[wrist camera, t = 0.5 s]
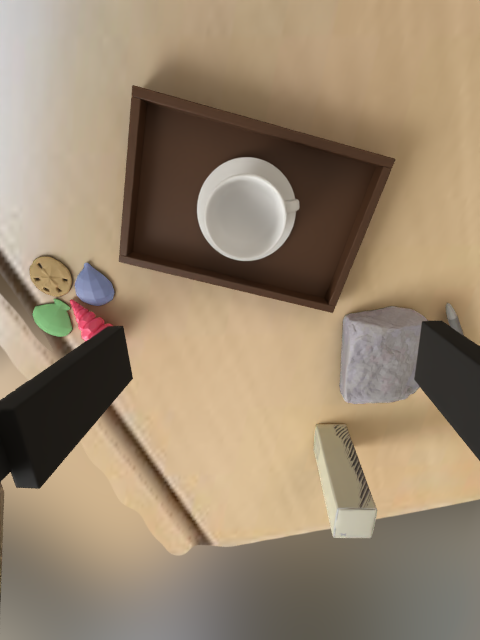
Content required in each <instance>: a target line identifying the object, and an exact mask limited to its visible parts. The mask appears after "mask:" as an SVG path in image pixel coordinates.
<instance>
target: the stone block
mask: <svg viewBox="0 0 480 640" xmlns="http://www.w3.org/2000/svg"><path fill="white" fill-rule="evenodd" d="M422 321H428V320H427V319H426V318H425V317H424V316H423V315H421V314H420V313H418V312H416V311H414V310H413V309H409V308H399V307H394V306H390V307H386V308H382V309H377V310H372V311H363V312H358V313H350V314H347V315H345V317H344V319H343V334H342V351H341V372H340V392H341V394H342V396H343V398H344V400H345V401H346V402H348V403H353V404H358V403H360V404H364V403H388V402H394V401H399V400H402V399H406V398H408V396H409V395H410V394H413V393H415V392H416V390H417V389H418V388H419V387H420V386H419V385H418V384H417V382H416V381H415V380H414V377H415V370H416V362H417V355H418V347H419V340H420V332H421V325H422Z"/></svg>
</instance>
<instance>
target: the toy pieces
mask: <svg viewBox="0 0 480 640" xmlns="http://www.w3.org/2000/svg"><path fill="white" fill-rule="evenodd" d="M39 263H40V264H41V265H42V267H43V268H41V267H40V266H39V265H38V264H39ZM30 277H31V280H32V282H33V283H34V285H35V286H36V287H37V288H38V289H39V290H41V291H42V292H44V293H45V294H48V295H52V296H56V297H59V296H63V295H64V294H66V293H68V292H69V290H70V288H71V285H72V277H71V274H70V272H69V270H68V269H67V267H66V266H64V265H63V264H62V263H61V262H60V261H58V260H56V259H54V258H52V257H48V256H43V257H39V258H37V259H35V260H34V261H33V264H32V265H31V266H30ZM36 278H39V279H40V280H36ZM63 279H67V281H64V280H63ZM44 288H47V289H49V291H47V290H46V289H44ZM58 288H59V289H60V290H61V291H59V290H58ZM75 290H76V295H77V296H78V297H79V298H80V299H81V300H82V302H85V303H88V304H90V305H95V306H100V305H103V304H106V303H108V302H109V301H111V300H112V299H113V296H114V293H115V292H114V289H113V286H112V283H111V282H110V281H109V280H108V279H107V278H106V277H105V276H104V275H103V274H101V273H100V272H98V271H97V270H96V269H94V268H93V267H92V266H91V265H90V264H89V263H85V264H84V268H83V270H82V271H81V272H80V273H79V275H78V276H77V279H76V282H75ZM54 302H55V303H53V304H45V305H41V306H36V307H35V309H34V311H33V314H32V315H33V317H34V320H35V323H36V324H37V325H38V326H39V327H40V328H41V329H42V330H44V331H45V332H47V333H49V334H51V335H54V336H58V337H60V336H66V335H68V334H69V333H70V331H71V330H72V329H73V328H72V325H71V321H70V317H69V315H68V312H67V310H70V309H71V308H70V307H69V306H68V305H67V304H66V303H64V302H62V301H61V300H59V299H54ZM70 303H71V305H72V308H73V311H74V315H75V316H76V321H77V322H78V327H79V329H80V330H81V331H82V332H81V337H82V339H84V340H85V342H86V341H87V340H89V339H90V338H91V337H93V336H94V335H96V334H97V333H99V332H100V331H101V330H103V329H104V328H106V327H107V326H113V325H112V324H105V325H104V320H103V319H102V318H101V317H96V318H95V314H94V313H93V312H89V310H88V309H87V308H85V309H84V307H83V306H81V305H80V304H78V303H77V302H75V301H73V300H72V299H71V300H70Z"/></svg>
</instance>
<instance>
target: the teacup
mask: <svg viewBox="0 0 480 640" xmlns="http://www.w3.org/2000/svg"><path fill="white" fill-rule="evenodd" d="M297 210H299V200H298V199H295V196H294V193H293V190H292V187H291V185H290V183H289V182H288V180H287V178H286V177H285V176H284V175H283V173H282V172H281V171H280V170H279V169H277V168H276V167H275V166H273V165H272V164H270V163H268V162H266V161H264V160H261V159H257V158H252V157H242V158H236V159H232V160H229V161H227V162H225V163H223V164H221V165H220V166H219V167H217V168H216V169H215V170H214V171H213V172H212V173H211V174H210V175H209V176H208V177H207V179H206V180H205V182H204V184H203V186H202V188H201V190H200V193H199V197H198V203H197V216H198V222H199V225H200V228H201V231H202V233H203V235H204V237H205V238H206V240H207V241H208V242H209V244H210V245H211V246H212V247H213V248H214V249H215V250H217V251H218V252H219V253H221V254H222V255H224V256H226V257H229V258H231V259H235V260H240V261H253V260H258V259H261V258H264V257H266V256H268V255H270V254H272V253H273V252H275V251H276V250H277V249H278V248H279V247H281V246H282V244H283V243H284V242H285V241H286V239H287V238H288V236H289V234H290V232H291V230H292V228H293V225H294V221H295V216H296V211H297Z"/></svg>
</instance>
